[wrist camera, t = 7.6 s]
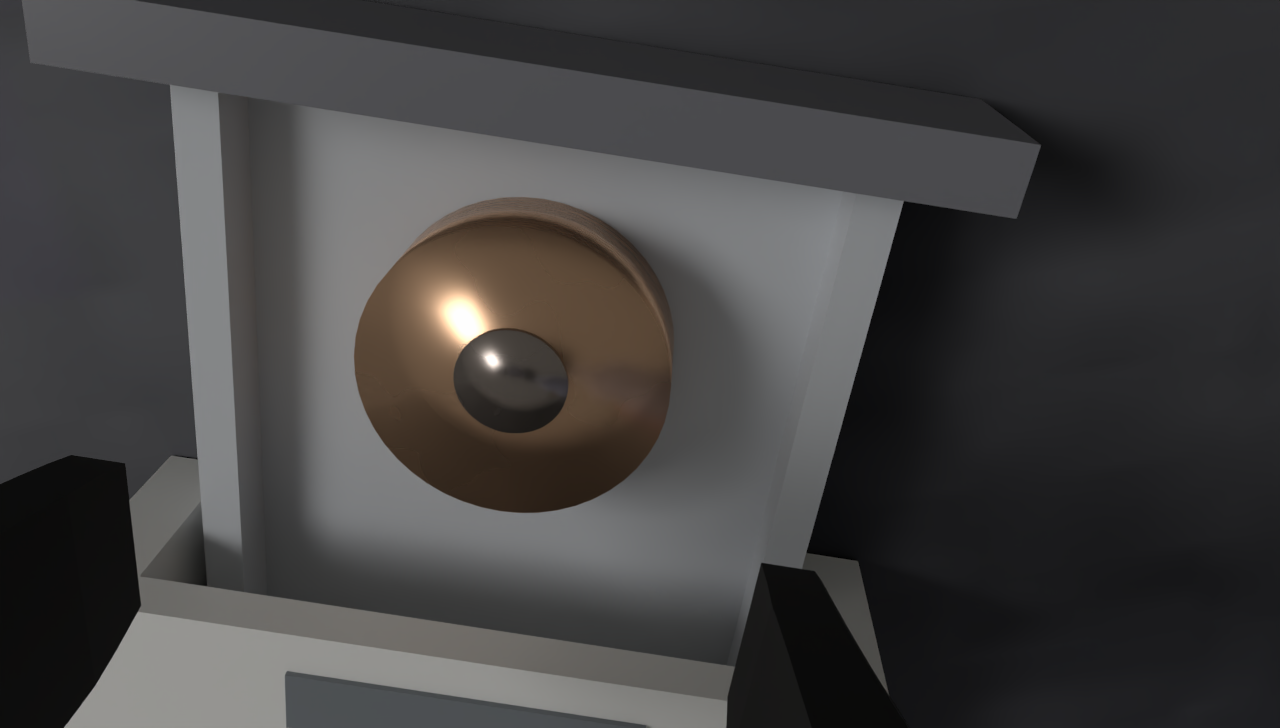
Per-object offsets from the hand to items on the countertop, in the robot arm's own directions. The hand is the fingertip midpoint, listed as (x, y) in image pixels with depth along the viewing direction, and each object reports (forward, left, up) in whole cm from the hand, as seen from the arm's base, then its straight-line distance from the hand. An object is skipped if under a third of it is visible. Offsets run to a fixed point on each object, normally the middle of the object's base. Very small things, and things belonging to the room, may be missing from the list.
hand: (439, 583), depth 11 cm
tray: (-1, 0, -7) cm, 7 cm away
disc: (0, 0, -6) cm, 6 cm away
